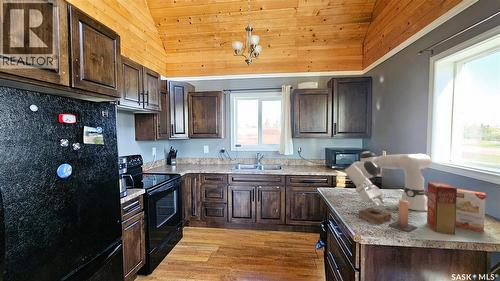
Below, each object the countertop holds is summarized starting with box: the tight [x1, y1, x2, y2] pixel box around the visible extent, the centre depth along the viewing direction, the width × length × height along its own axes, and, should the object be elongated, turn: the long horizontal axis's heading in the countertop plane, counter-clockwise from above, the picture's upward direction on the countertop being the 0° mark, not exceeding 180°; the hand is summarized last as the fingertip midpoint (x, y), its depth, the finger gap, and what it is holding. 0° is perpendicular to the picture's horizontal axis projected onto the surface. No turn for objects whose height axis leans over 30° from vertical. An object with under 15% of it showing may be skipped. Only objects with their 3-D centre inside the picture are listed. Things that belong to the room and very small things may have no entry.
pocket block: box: [358, 207, 392, 225], centre depth 138 cm, size 13×13×4 cm
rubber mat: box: [388, 220, 418, 233], centre depth 126 cm, size 10×10×1 cm
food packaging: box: [426, 181, 458, 236], centre depth 124 cm, size 13×9×25 cm
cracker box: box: [456, 188, 487, 233], centre depth 127 cm, size 14×6×21 cm, turn 45°
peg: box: [397, 199, 409, 227], centre depth 126 cm, size 4×4×14 cm
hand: (380, 204), depth 135 cm, fingers open, 8 cm apart
